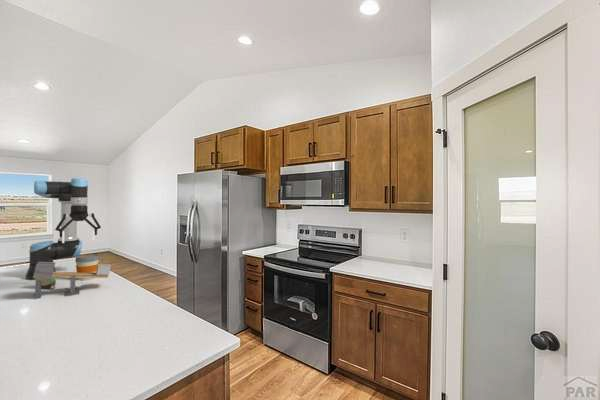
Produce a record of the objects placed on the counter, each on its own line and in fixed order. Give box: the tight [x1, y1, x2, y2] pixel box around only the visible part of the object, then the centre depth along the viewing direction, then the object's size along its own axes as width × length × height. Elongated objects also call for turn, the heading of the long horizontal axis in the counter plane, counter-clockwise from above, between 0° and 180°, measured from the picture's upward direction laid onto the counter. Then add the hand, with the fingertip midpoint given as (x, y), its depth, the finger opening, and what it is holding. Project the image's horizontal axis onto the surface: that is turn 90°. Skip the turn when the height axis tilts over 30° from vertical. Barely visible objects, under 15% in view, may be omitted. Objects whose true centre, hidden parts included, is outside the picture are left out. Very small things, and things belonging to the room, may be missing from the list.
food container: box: [35, 269, 58, 291], centre depth 159 cm, size 12×6×10 cm, turn 84°
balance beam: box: [33, 261, 109, 279], centre depth 152 cm, size 9×32×8 cm, turn 129°
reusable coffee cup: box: [75, 253, 100, 281], centre depth 178 cm, size 12×12×15 cm
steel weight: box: [96, 263, 112, 277], centre depth 161 cm, size 5×6×6 cm
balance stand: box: [34, 276, 81, 300], centre depth 148 cm, size 12×18×10 cm, turn 129°
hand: (78, 241), depth 155 cm, fingers open, 13 cm apart
